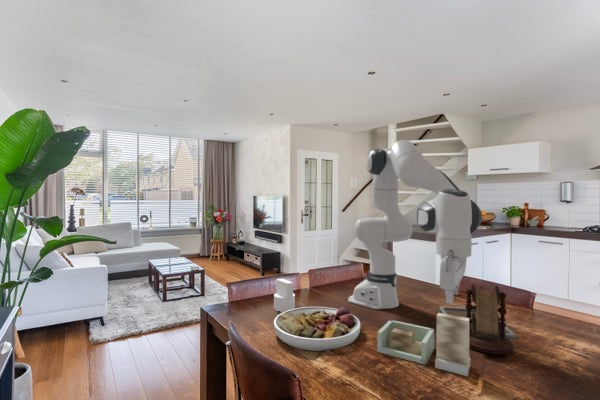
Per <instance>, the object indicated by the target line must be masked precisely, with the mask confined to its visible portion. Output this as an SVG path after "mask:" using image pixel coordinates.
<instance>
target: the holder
mask: <svg viewBox="0 0 600 400" xmlns="http://www.w3.org/2000/svg"><path fill="white" fill-rule="evenodd" d="M434 368H435V369H439V370H443V371H446V372H450V373H452V374H453V373H454V374H457V375H461V376H465V377H468V376H469V373H468V365H464V364H460V363H456V362H452V361H448V360H444V359H440V358H437V357H436V356H435V360H434ZM470 369H471V358H470V357H469V370H470Z"/></svg>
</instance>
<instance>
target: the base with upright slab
mask: <svg viewBox="0 0 600 400" xmlns="http://www.w3.org/2000/svg"><path fill="white" fill-rule="evenodd" d="M275 287H276V288H275V292H274V294H273V310H274V309H275V310H276V311H275V310H274V311H275V312H277V311H280V312H279V313H283V312H285V311H288V310H292V309H296V302H295V301H296V294H295V293H294V282H293V281H291V280H287V279H284V278H277V279H276V280H275Z"/></svg>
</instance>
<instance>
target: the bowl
mask: <svg viewBox="0 0 600 400" xmlns="http://www.w3.org/2000/svg"><path fill="white" fill-rule="evenodd" d="M273 328H274V332H275V334H276V336H277V337H278V339H280V340H281V341H282V342H283V343H285V344H286V345H289V346H290V347H293V348H296V349H299V350H303V351H312V352H327V351H330V350H334V349H338V348H339V349H340V348H343V347H346V346H348V345H350V344H352V343H353V342H355V340H356V339H357V338H358V337H359V334H360V332H361V321H360V319H359V318H358V317H357V316H355V315H354V314H353V313H351V312H350V309H349V308H348V307H346V306H342V307H340V308H339V309H337V308H334V307H333V308H332V307H325V306H306V307H304V306H303V307H298V308H296V307H295V309H292V310H288V311H285V312H280V313H279V314H278V315H277V316H275V318H274V319H273Z"/></svg>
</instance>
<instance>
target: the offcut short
mask: <svg viewBox="0 0 600 400" xmlns="http://www.w3.org/2000/svg"><path fill="white" fill-rule="evenodd" d="M391 340H395V341H400V342H404V343H408V344H412V342H413V341H414V332H409V331H405V330H400V329H396V328H394V329H393V330H392V331H391Z"/></svg>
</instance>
